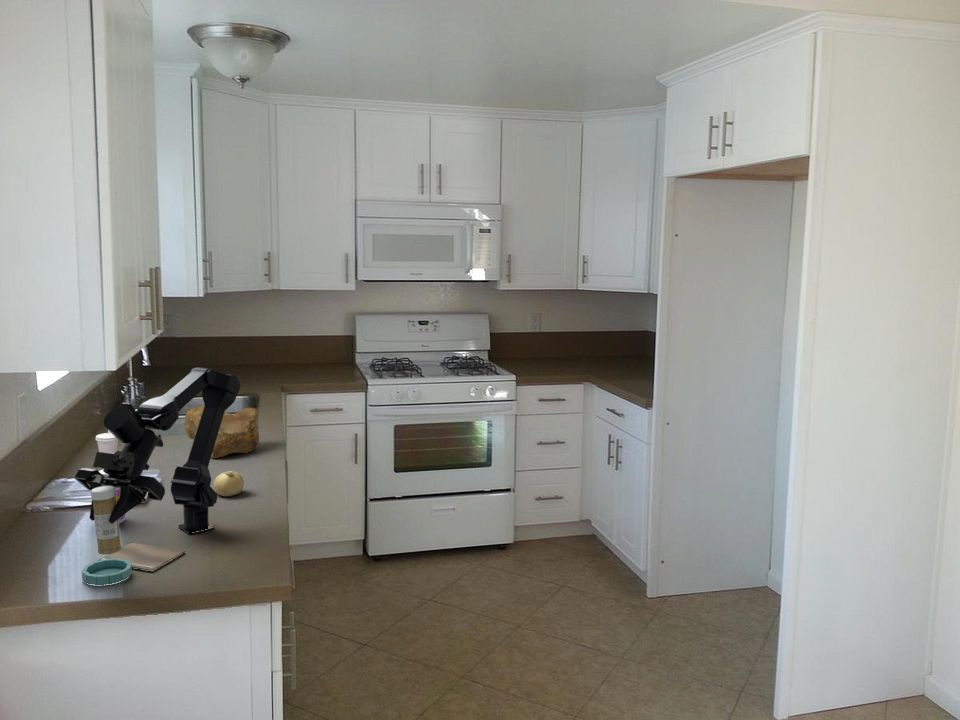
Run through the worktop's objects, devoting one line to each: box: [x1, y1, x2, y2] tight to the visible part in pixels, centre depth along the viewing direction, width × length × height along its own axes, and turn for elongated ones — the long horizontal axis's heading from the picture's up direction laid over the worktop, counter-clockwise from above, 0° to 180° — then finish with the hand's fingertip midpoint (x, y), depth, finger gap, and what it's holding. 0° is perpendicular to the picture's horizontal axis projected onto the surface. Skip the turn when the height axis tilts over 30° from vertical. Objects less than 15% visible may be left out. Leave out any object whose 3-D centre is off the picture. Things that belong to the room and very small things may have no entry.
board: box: [96, 542, 186, 570], centre depth 179 cm, size 11×14×1 cm
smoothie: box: [95, 429, 119, 454], centre depth 244 cm, size 6×6×14 cm
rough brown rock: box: [184, 405, 260, 460], centre depth 261 cm, size 23×17×15 cm
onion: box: [213, 470, 245, 497], centre depth 223 cm, size 8×8×7 cm
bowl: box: [81, 558, 133, 585], centre depth 169 cm, size 9×9×2 cm
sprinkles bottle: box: [90, 486, 122, 556], centre depth 167 cm, size 5×5×13 cm
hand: (100, 521), depth 166 cm, fingers closed on sprinkles bottle, 4 cm apart
